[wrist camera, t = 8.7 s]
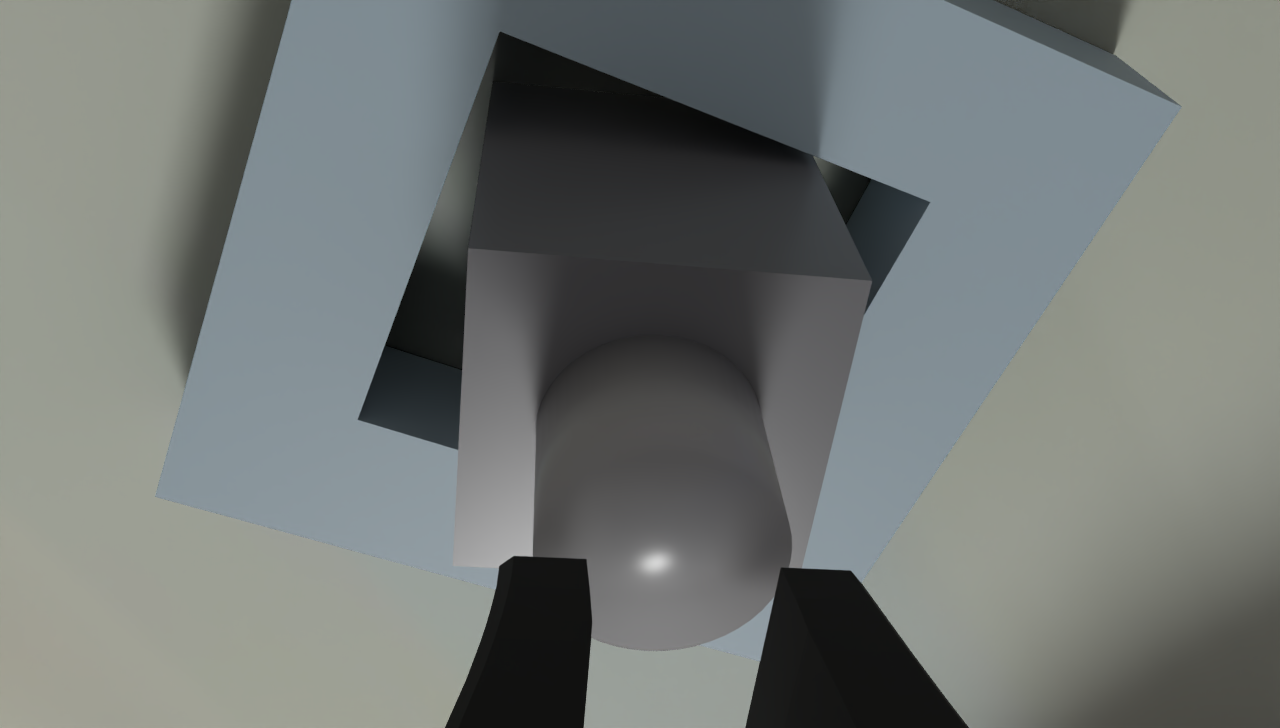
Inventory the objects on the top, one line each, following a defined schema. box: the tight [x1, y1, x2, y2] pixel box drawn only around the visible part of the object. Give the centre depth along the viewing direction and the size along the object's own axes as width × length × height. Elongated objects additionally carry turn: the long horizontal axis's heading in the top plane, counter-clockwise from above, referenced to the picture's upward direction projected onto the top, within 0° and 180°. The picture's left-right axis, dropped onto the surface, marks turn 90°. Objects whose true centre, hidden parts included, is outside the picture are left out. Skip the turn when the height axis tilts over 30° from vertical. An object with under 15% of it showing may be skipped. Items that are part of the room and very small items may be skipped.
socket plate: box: [155, 0, 1181, 661], centre depth 16 cm, size 10×10×2 cm
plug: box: [453, 81, 872, 651], centre depth 14 cm, size 4×4×7 cm
